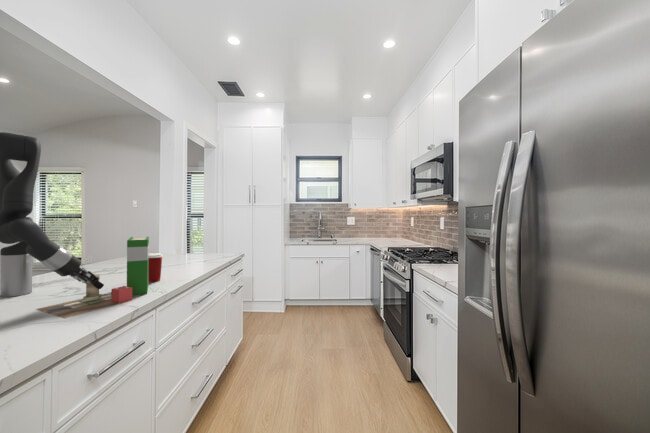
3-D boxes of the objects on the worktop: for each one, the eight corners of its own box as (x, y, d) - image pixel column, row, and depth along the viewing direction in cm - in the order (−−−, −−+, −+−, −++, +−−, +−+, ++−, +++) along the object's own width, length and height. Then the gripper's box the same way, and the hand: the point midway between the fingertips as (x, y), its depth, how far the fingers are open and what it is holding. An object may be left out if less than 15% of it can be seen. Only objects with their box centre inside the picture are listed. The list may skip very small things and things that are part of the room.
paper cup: (166, 279, 149) (166, 253, 149) (152, 283, 142) (153, 255, 142) (155, 278, 152) (155, 252, 152) (141, 281, 145) (141, 254, 144)
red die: (111, 301, 112) (111, 288, 112) (124, 297, 117) (124, 285, 117) (118, 303, 110) (119, 290, 110) (132, 299, 115) (132, 287, 115)
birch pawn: (80, 298, 111) (80, 274, 111) (96, 295, 116) (96, 271, 116) (88, 300, 109) (88, 275, 108) (104, 296, 114) (104, 273, 114)
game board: (35, 310, 102) (35, 309, 102) (104, 294, 122) (104, 293, 122) (64, 320, 94) (64, 318, 94) (133, 301, 114) (133, 299, 114)
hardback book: (130, 286, 134) (130, 237, 134) (148, 285, 138) (148, 236, 138) (126, 296, 119) (127, 240, 119) (147, 294, 123) (147, 239, 123)
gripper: (80, 254, 102) (116, 280, 114) (60, 251, 108) (96, 276, 119) (61, 271, 98) (101, 297, 109) (41, 267, 103) (80, 292, 115)
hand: (98, 286), depth 114 cm, fingers closed on birch pawn, 4 cm apart
